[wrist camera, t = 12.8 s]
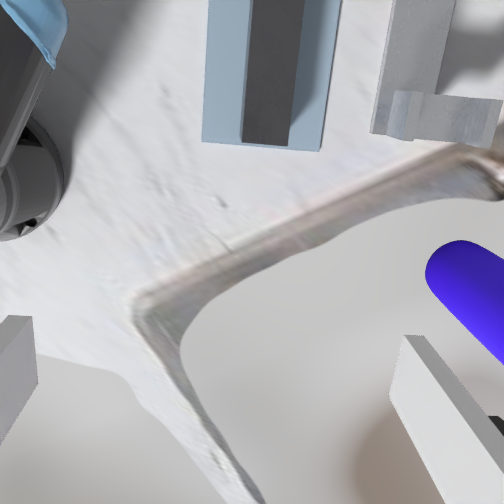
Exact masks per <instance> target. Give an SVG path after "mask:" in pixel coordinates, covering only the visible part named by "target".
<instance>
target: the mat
mask: <svg viewBox="0 0 504 504" xmlns="http://www.w3.org/2000/svg"><path fill="white" fill-rule="evenodd" d="M340 1H341V0H305V4H304V13H303V21H302V30H301V38H300V47H299V55H298V64H297V72H296V80H295V89H294V97H293V106H292V114H291V123H290V131H289V140H288V147H287V146H275V145H264V144H252V143H241V140H240V136H239V133H240V121H241V108H242V96H243V83H244V71H245V59H246V46H247V34H248V21H249V9H250V0H209V8H208V27H207V47H206V66H205V85H204V105H203V124H202V142H209V143H220V144H232V145H244V146H255V147H267V148H278V149H290V150H301V151H313V152H319V148H320V141H321V134H322V127H323V120H324V113H325V106H326V99H327V92H328V85H329V78H330V71H331V64H332V57H333V50H334V43H335V36H336V29H337V22H338V15H339V8H340Z"/></svg>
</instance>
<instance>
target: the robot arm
mask: <svg viewBox="0 0 504 504" xmlns="http://www.w3.org/2000/svg"><path fill="white" fill-rule="evenodd" d="M67 29H68V15H67V11H66V8H65V6H64V4H63V2H62V1H61V0H0V242H1V241H8V240H13V239H16V238H19V237H22V236H24V235H26V234H28V233H30V232H32V231H33V230H35V229H36V228H37V227H39V226H40V225H41V224H43V223H44V222H45V221H46V220H47V219H48V218H49V217H50V216H51V215H52V213H53V212H54V211H55V209H56V207H57V205H58V203H59V201H60V198H61V195H62V190H63V169H62V164H61V160H60V157H59V154H58V151H57V149H56V147H55V145H54V143H53V142H52V140H51V138H50V137H49V135H48V134H47V133H46V131H45V130H44V129H43V128H42V127H41V126H40V125H39V124H38V123H37V122H36V121H35V120H34V119H33V118H32V117H30V114H31V112H32V110H33V108H34V106H35V103H36V101H37V99H38V97H39V95H40V93H41V90H42V88H43V86H44V84H45V82H46V80H47V78H48V75H49V73H50V71H54V70H55V68H56V61H55V59H56V57H57V54H58V52H59V49H60V47H61V44H62V42H63V39H64V37H65V34H66V32H67ZM37 385H38V376H37V366H36V354H35V343H34V332H33V321H32V316H16V315H8V316H7V317H6V318H5V320H4V321H3V322H2V323H1V324H0V445H1V443H2V441H3V440H4V438H5V437H6V435H7V433H8V432H9V430H10V429H11V427H12V425H13V424H14V422H15V420H16V419H17V417H18V416H19V414H20V412H21V411H22V409H23V407H24V406H25V404H26V403H27V401H28V399H29V398H30V396H31V394H32V393H33V391H34V389H35V388H36V386H37ZM389 398H390V400H391V402H392V403H393V405H394V407H395V409H396V411H397V413H398V415H399V417H400V419H401V421H402V422H403V424H404V426H405V428H406V430H407V432H408V434H409V436H410V438H411V439H412V441H413V443H414V445H415V447H416V449H417V451H418V453H419V455H420V456H421V458H422V460H423V462H424V464H425V466H426V468H427V470H428V472H429V473H430V475H431V477H432V479H433V481H434V483H435V485H436V487H437V489H438V491H439V492H440V494H441V496H442V498H443V500H444V502H445V504H504V420H502V419H501V418H500V417H498V416H487V415H486V414H485V412H484V411H483V410H482V409H481V407H480V406H479V405H478V404H477V402H476V401H475V400H474V398H473V397H472V396H471V395H470V394H469V392H468V391H467V390H466V389H465V387H464V386H463V385H462V383H461V382H460V381H459V380H458V378H457V377H456V376H455V375H454V373H453V372H452V371H451V369H450V368H449V367H448V366H447V364H446V363H445V362H444V361H443V360H442V358H441V357H440V356H439V354H438V353H437V352H436V351H435V350H434V348H433V347H432V346H431V344H430V343H429V342H428V341H427V339H426V338H425V337H424V336H416V335H404V336H403V340H402V344H401V348H400V353H399V357H398V361H397V365H396V369H395V373H394V377H393V381H392V386H391V389H390V394H389Z"/></svg>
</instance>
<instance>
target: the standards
mask: <svg viewBox="0 0 504 504" xmlns="http://www.w3.org/2000/svg"><path fill="white" fill-rule="evenodd" d="M454 5H455V0H393V4H392V10H391V15H390V21H389V26H388V32H387V37H386V43H385V49H384V54H383V60H382V65H381V71H380V76H379V82H378V88H377V93H376V99H375V104H374V110H373V115H372V121H371V127H370V132H369V133H371V134H380V135H387V136H390V137H393V138H396V139H399V140H403V141H413V140H414V139H423V140H434V141H445V142H456V143H464V144H468V145H472V146H476V147H480V148H490V147H491V144H492V140H493V136H494V133H495V129H496V125H497V122H498V118H499V114H500V111H501V107H502V104H503V100H495V99H481V98H468V97H458V96H448V95H438V94H435V90H436V86H437V81H438V77H439V72H440V68H441V63H442V59H443V54H444V50H445V45H446V41H447V36H448V32H449V27H450V23H451V18H452V14H453V9H454Z"/></svg>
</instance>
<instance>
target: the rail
mask: <svg viewBox="0 0 504 504" xmlns="http://www.w3.org/2000/svg"><path fill="white" fill-rule="evenodd" d="M304 4H305V0H250V9H249V21H248V34H247V46H246V59H245V71H244V83H243V96H242V108H241V121H240V133H239V136H240V140H241V143H252V144H264V145H275V146H287V147H288V140H289V131H290V123H291V114H292V106H293V97H294V89H295V80H296V72H297V64H298V55H299V47H300V38H301V30H302V21H303V13H304Z"/></svg>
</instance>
